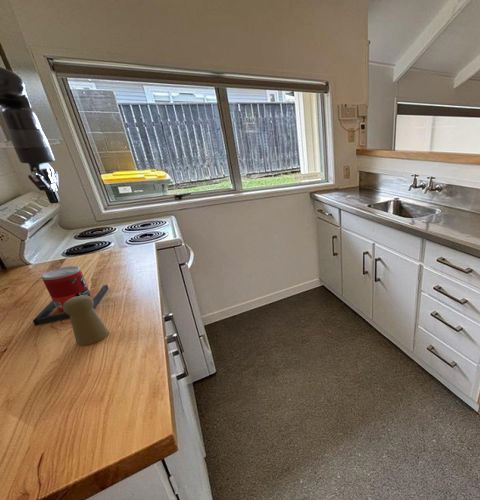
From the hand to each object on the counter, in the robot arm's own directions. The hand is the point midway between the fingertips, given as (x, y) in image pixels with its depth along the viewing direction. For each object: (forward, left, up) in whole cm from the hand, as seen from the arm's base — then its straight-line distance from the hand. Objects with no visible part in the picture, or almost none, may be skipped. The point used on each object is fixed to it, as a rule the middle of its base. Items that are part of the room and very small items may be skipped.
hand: (55, 202), depth 91 cm
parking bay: (+4, -23, -27) cm, 36 cm away
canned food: (+4, -23, -27) cm, 36 cm away
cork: (+14, -45, -27) cm, 54 cm away
